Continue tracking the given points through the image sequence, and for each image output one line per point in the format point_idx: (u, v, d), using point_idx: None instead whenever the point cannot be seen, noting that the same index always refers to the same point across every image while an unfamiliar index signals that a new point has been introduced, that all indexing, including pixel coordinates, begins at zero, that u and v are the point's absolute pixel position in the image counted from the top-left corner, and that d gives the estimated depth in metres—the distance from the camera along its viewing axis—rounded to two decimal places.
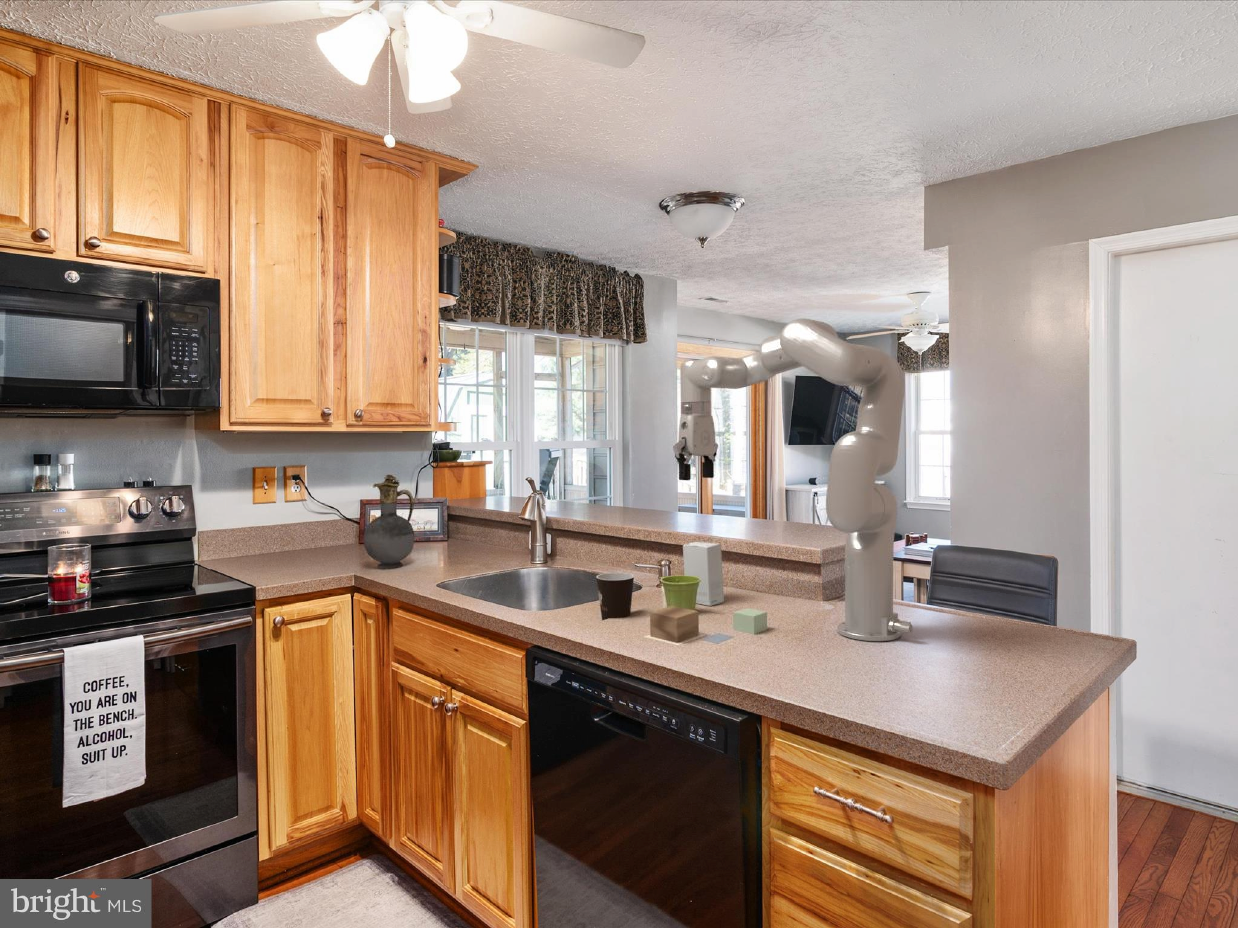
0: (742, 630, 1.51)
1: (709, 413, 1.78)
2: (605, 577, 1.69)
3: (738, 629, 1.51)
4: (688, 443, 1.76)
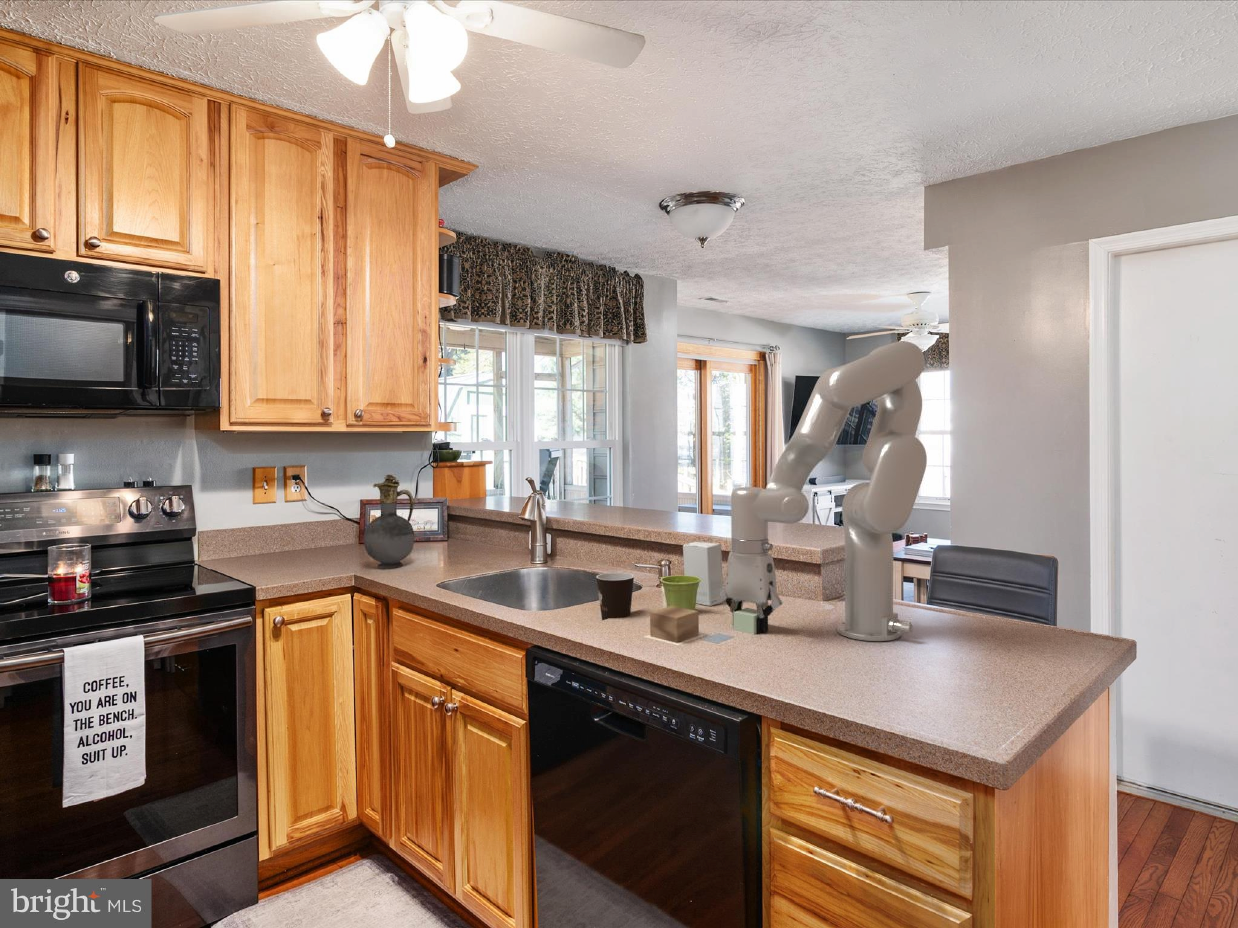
0: (742, 630, 1.51)
1: None
2: (605, 577, 1.69)
3: (738, 629, 1.51)
4: (774, 587, 1.49)
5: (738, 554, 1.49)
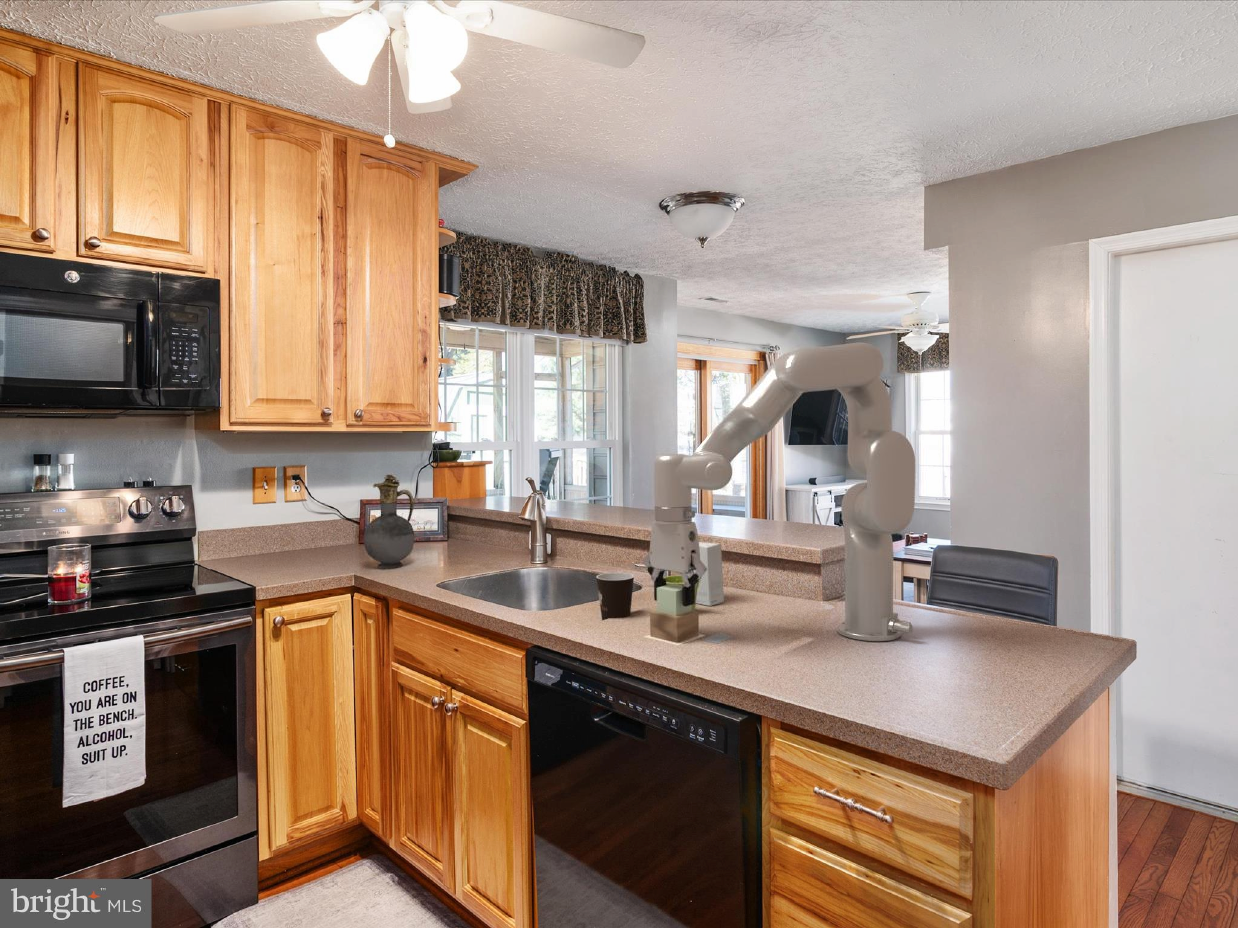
0: (665, 606, 1.47)
1: None
2: (605, 577, 1.69)
3: (661, 605, 1.47)
4: (697, 556, 1.45)
5: (659, 522, 1.45)
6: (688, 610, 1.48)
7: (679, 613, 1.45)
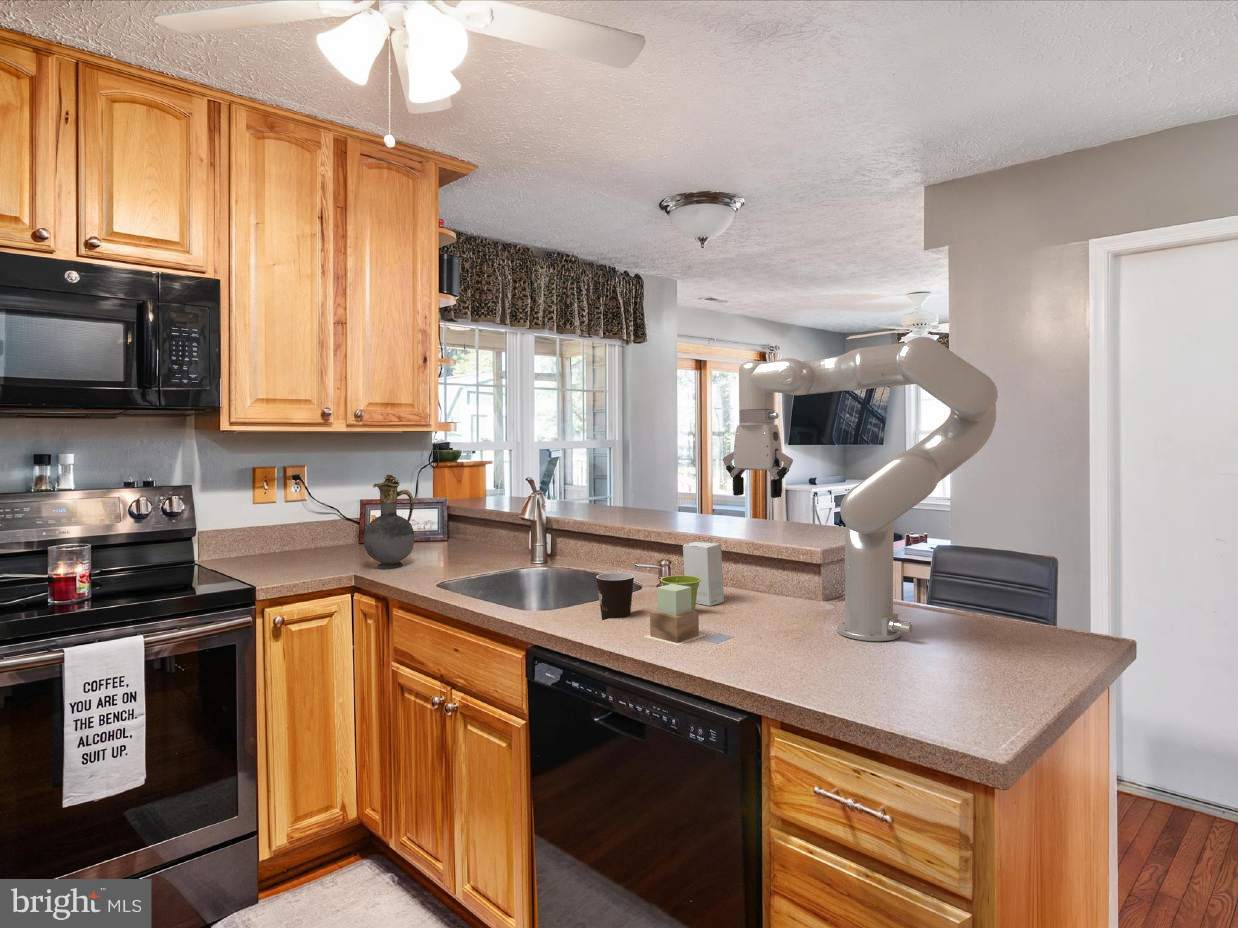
0: (665, 606, 1.47)
1: None
2: (605, 577, 1.69)
3: (661, 605, 1.47)
4: None
5: (745, 423, 1.57)
6: (688, 610, 1.48)
7: (679, 613, 1.45)
